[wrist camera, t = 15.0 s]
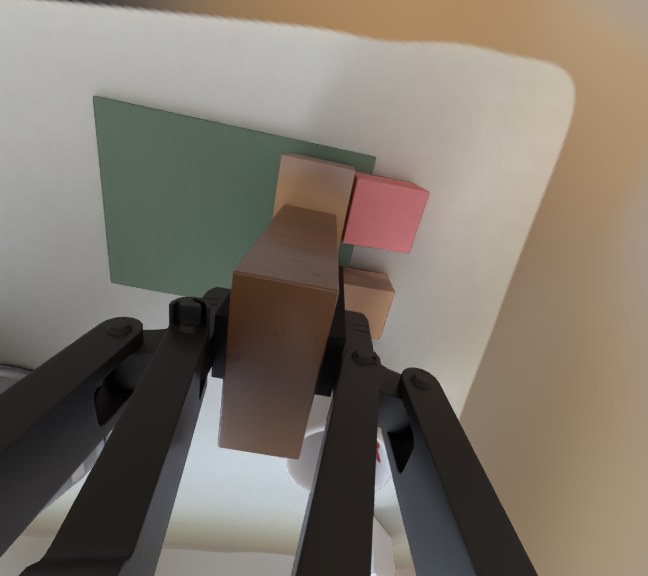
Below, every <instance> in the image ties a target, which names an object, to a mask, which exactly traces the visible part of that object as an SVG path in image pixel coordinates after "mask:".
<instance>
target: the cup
mask: <svg viewBox="0 0 648 576" xmlns="http://www.w3.org/2000/svg"><path fill="white" fill-rule="evenodd" d="M332 397H333V390H332V394H331V397H326V396H320V395H314V399H313V403H312V408H311V412H310V416H309V420H308V424H307V428H306V433H305V437H304V441H303V445H302V449H301V453H300V458H299V459H298V460H296V459H289V458H284V464H285V468H286V471H287V473H288V475H289V476H290V478H291V479H292V480H293V481H294V482H295V483H296V484H297V485H298V486H300V487H301V488H302V489H304V490H306V491H308V492H310V490H311V486H312V482H313V477H314V473H315V469H316V464H317V460H318V456H319V451H320V447H321V443H322V438H323V434H324V430H325V425H326V418H327V415H328V411H329V408H330V404H331V400H332ZM391 477H392V473H391V469H390V465H389V461H388V457H387V453H386V449H385V445H384V440H383V436H382V432H381V428H379V427H378V431H377V452H376V473H375V491H377V490H378V489H380V488H381V487H383V486H384V485H385V484H386V483H387V482H388V481H389V480H390V478H391Z"/></svg>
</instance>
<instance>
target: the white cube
mask: <svg viewBox="0 0 648 576" xmlns="http://www.w3.org/2000/svg"><path fill="white" fill-rule="evenodd" d="M371 576H396V574H395V566H394V559H393V551H392V544H391V537H390V535H389V534H388V533H387V532H386V531H385V529H384V528H383V527H382V526H381V524H380V523H379V522H378V521H377V519H376V518H375V517H374V516H373V537H372V558H371Z"/></svg>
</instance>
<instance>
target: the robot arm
mask: <svg viewBox="0 0 648 576" xmlns="http://www.w3.org/2000/svg"><path fill="white" fill-rule="evenodd" d="M338 274H339V295H338V299H337V303H336V307H335V312H334V316H333V320H332V324H331V328H330V332H329V337H328V341H327V345H326V349H325V353H324V357H323V362H322V366H321V370H320V374H319V378H318V383H317V387H316V391H315V395H320V396H326V397H331V394H332V390H333V397H332V400H331V404H330V408H329V411H328V415H327V418H326V425H325V430H324V434H323V438H322V443H321V447H320V451H319V456H318V460H317V464H316V469H315V473H314V477H313V482H312V486H311V490H310V495H309V499H308V503H307V508H306V512H305V516H304V521H303V525H302V529H301V534H300V538H299V542H298V547H297V551H296V555H295V560H294V564H293V568H292V573H291V576H371V558H372V537H373V516H374V494H375V473H376V452H377V431H378V427H379V428H381V432H382V436H383V440H384V445H385V449H386V453H387V457H388V461H389V465H390V469H391V473H392V477H393V481H394V485H395V489H396V494H397V498H398V502H399V506H400V510H401V514H402V518H403V522H404V526H405V530H406V534H407V539H408V543H409V547H410V551H411V555H412V559H413V563H414V567H415V571H416V575H417V576H538V575H537V573H536V571H535V569H534V567H533V565H532V563H531V561H530V559H529V557H528V555H527V553H526V551H525V550H524V547H523V546H522V544H521V542H520V540H519V538H518V536H517V534H516V532H515V530H514V528H513V526H512V524H511V522H510V520H509V518H508V516H507V514H506V512H505V510H504V508H503V507H502V505H501V503H500V501H499V499H498V497H497V495H496V493H495V491H494V489H493V487H492V485H491V483H490V481H489V479H488V477H487V475H486V473H485V471H484V469H483V467H482V466H481V464H480V462H479V460H478V458H477V456H476V454H475V452H474V450H473V448H472V446H471V444H470V442H469V440H468V438H467V436H466V434H465V432H464V430H463V428H462V426H461V425H460V423H459V421H458V419H457V417H456V415H455V413H454V411H453V409H452V407H451V405H450V403H449V401H448V399H447V397H446V395H445V393H444V391H443V389H442V387H441V385H440V383H439V382H438V381H437V379H436V378H435V377H434V376H433V375H431V374H430V373H429V372H427V371H425V370H423V369H419V368H407V369H405V370H404V371H403V372H402V374H399V373H396V372H394V371H391V370H389V369H387V368H385V367H384V366H383V365H381V362H380V358H379V357H378V355H377V354H376V353H375V352H373V346H372V340H371V334H370V328H369V321H368V319H367V318H366V316H365V315H364V314H363V313H360V312H354V311H349V310H345V297H344V275H343V266H338ZM230 295H231V289H227V288H222V287H214V288H212V289H210V290H208V291H207V292H206V293H205V294H204V296H203V297H202V298H198V297H182V298H178V299H175V300H173V301H172V302H171V303H170V304H169V327H168V328H167V329H160V330H143V324H142V323H141V322H140V321H139V320H137V319H135V318H130V317H117V318H113V319H109V320H106V321H104V322H102V323H100V324H99V325H97V326H96V327H95V328H93V329H92V330H90V331H89V332H87V333H86V334H85V335H83V336H82V337H80V338H79V339H78V340H76V341H75V342H73V343H72V344H70V345H69V346H68V347H66V348H65V349H63V350H62V351H60V352H59V353H58V354H56V355H55V356H53V357H52V358H50V359H49V360H48V361H46V362H45V363H43V364H42V365H41V366H39V367H38V368H36V369H35V370H33V371H29V370H25V369H22V368H17V367H12V366H5V365H0V557H1V556H2V555H3V554H4V553H5V552H6V550H7V549H8V548H9V546H11V544H12V543H13V542H14V541H15V540H16V539H17V538H18V536H19V535H20V534H21V533H22V532H23V531H24V530H25V529H26V527H27V526H28V525H29V524H30V523H31V522H32V521H33V519H34V518H35V517H36V516H37V515H38V514H39V513H41V512H42V511H43V510H44V509H46V508H47V507H48V506H49V505H51V504H52V503H53V502H54V501H55V500H57V499H58V498H59V497H60V496H61V495H62V494H64V493H65V492H66V491H67V490H68V489H69V488H71V487H72V486H73V485H75V484H76V483H77V482H79V481H80V480H81V479H82V478H83V477H84V476H85V475H86V474H87V472H88V471H89V470H90V469H91V468H92V467H93V468H92V470H91V472H90V473H89V475H88V477H87V479H86V481H85V483H84V485H83V486H82V488H81V490H80V492H79V494H78V496H77V498H76V499H75V501H74V503H73V505H72V507H71V509H70V511H69V512H68V514H67V516H66V518H65V520H64V522H63V524H62V525H61V527H60V529H59V531H58V533H57V535H56V537H55V539H54V540H53V542H52V544H51V546H50V548H49V549H48V551H47V552H46V554H45V555H44V557H43V558H42V559H41V560H40V561H39V562H37V563H34V564H32V565H30V566H28V567H26V569H25V570H24V571H23V572H22V573H21V574H20V575H19V576H154V574H155V570H156V567H157V563H158V559H159V556H160V552H161V549H162V545H163V541H164V538H165V534H166V531H167V527H168V523H169V520H170V516H171V513H172V509H173V505H174V502H175V498H176V495H177V491H178V487H179V484H180V480H181V477H182V473H183V469H184V466H185V462H186V459H187V455H188V451H189V448H190V444H191V441H192V437H193V433H194V430H195V426H196V423H197V419H198V415H199V412H200V408H201V405H202V401H203V397H204V394H205V390H206V387H207V375H208V373H209V371H210V369H211V367H212V376H211V377H216V378H222V379H223V377H224V365H225V354H226V342H227V330H228V318H229V307H230ZM114 426H115V427H114ZM113 428H114V429H113ZM112 429H113V431H112V433H111V434H110V436H109V438H108V440H107V442H106V444H105V446H104V438H105V437H106V436H107V434H108V433H109V432H110V431H111V430H112ZM93 465H94V466H93Z"/></svg>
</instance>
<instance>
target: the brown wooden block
mask: <svg viewBox="0 0 648 576" xmlns="http://www.w3.org/2000/svg"><path fill="white" fill-rule="evenodd" d="M355 173H356V169H355V168H354V167H353V165H352V164H348V163H343V162H338V161H334V160H329V159H324V158H320V157H315V156H310V155H305V154H301V153H296V152H291V151H290V152H287V153H283V154H281V158H280V165H279V173H278V181H277V188H276V196H275V204H274V211H273V219H272V221H271V222H270V223H269V225H268V226H267V227H266V228H265V230H264V231H263V232H262V234H261V235H260V236H259V238H258V239H257V240H256V242H255V243H254V244H253V246H252V247H251V248H250V249H249V251H248V252H247V253H246V255H245V256H244V257H243V259H242V260H241V261H240V263H239V264H238V265H237V267H236V268H235V269H234V270H233V272H232V283H231V295H230V307H229V318H228V330H227V342H226V354H225V365H224V377H223V389H222V401H221V412H220V424H219V436H218V447H221V448H227V449H233V450H240V451H246V452H252V453H258V454H264V455H271V456H277V457H283V458H289V459H296V460H298V459H299V458H300V453H301V449H302V445H303V441H304V437H305V433H306V428H307V424H308V420H309V416H310V412H311V408H312V403H313V399H314V395H315V391H316V387H317V383H318V378H319V374H320V370H321V366H322V362H323V357H324V353H325V349H326V345H327V341H328V337H329V332H330V328H331V324H332V320H333V316H334V312H335V307H336V303H337V299H338V295H339V274H338V249H339V244H340V240H341V235H342V231H343V226H344V222H345V217H346V213H347V208H348V204H349V200H350V195H351V191H352V186H353V182H354V177H355Z"/></svg>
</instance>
